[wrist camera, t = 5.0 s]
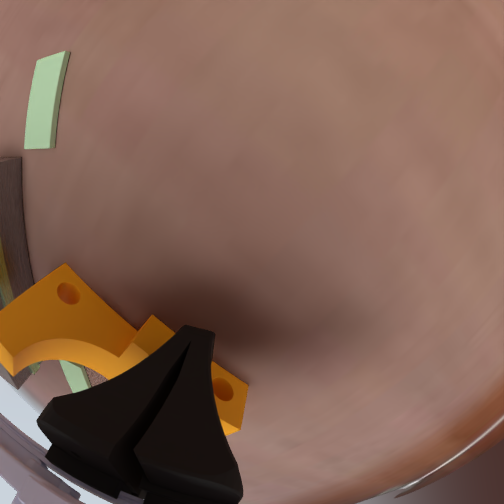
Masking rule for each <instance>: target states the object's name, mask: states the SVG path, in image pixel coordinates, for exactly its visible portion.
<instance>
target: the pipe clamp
mask: <svg viewBox="0 0 504 504" xmlns="http://www.w3.org/2000/svg"><path fill="white" fill-rule="evenodd" d="M174 334H175V332H173V331H172V330H171V329H170V328H168V327H167V326H166V325H165V324H163V323H162V322H161V321H160V320H159V319H157V318H156V317H155V316H154V315H153V314H152V315H151V316H150V317H149V319H148V320H147V321H146V322H145V323H144V324H143V326H142V327H141V328H140V329H139V330H138V331H137V330H136V329H135V328H133V327H132V326H131V325H130V324H129V323H127V322H126V321H125V320H124V319H123V318H122V317H121V316H119V315H118V314H117V313H116V312H115V311H114V310H113V309H112V308H111V307H109V306H108V305H107V304H106V303H105V302H104V301H103V300H102V299H101V298H100V297H99V296H98V295H97V294H96V293H95V292H94V291H93V290H92V289H91V288H90V287H88V286H87V285H86V284H85V283H84V282H83V280H82V279H81V278H80V277H79V276H78V275H77V274H76V273H75V272H74V271H73V270H72V269H71V268H70V267H69V266H68V265H67V264H66V263H64V264H63V265H61V266H60V267H58V268H57V269H55V270H54V271H52V272H51V273H50V274H48V275H47V276H45V277H44V278H43V279H41V280H40V281H38V282H37V283H36V284H34V285H33V286H32V287H30V288H29V289H28V290H26V291H25V292H24V293H22V294H21V295H20V296H18V297H17V298H16V299H15V300H13V301H12V302H11V303H10V304H8V305H7V306H6V307H5V308H3V309H2V310H1V311H0V363H1V364H2V365H3V366H4V367H5V368H6V370H7V371H8V372H9V373H10V374H11V375H12V376H13V377H14V376H15V375H16V374H17V373H18V372H19V371H21V370H22V369H23V368H25V367H27V366H29V365H31V364H33V363H36V362H40V361H44V360H66V361H71V362H75V363H78V364H81V365H84V366H86V367H88V368H91V369H93V370H95V371H96V372H98V373H100V374H101V375H103V376H104V377H106V378H107V379H109V380H110V379H112V378H114V377H116V376H118V375H120V374H122V373H123V372H125V371H127V370H129V369H130V368H132V367H133V366H135V365H136V364H138V363H139V362H141V361H142V360H144V359H145V358H146V357H148V356H149V355H151V354H152V353H153V352H155V351H156V350H157V349H158V348H159V347H161V346H162V345H163V344H164V343H165V342H167V341H168V340H169V339H170V338H171V337H172V336H173V335H174ZM211 375H212V384H213V391H214V397H215V402H216V407H217V411H218V415H219V418H220V421H221V425H222V428H223V431H224V434H225V436H226V435H229V434H232V433H234V432H237V431H239V430H241V424H242V419H243V413H244V408H245V402H246V397H247V391H248V386H249V385H247V384H246V383H244V382H243V381H241V380H240V379H238V378H237V377H235V376H234V375H232V374H231V373H229V372H228V371H226V370H225V369H223V368H222V367H220V366H219V365H218V364H216V363H215V362H213V361H212V363H211Z"/></svg>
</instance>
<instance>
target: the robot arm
mask: <svg viewBox="0 0 504 504" xmlns="http://www.w3.org/2000/svg"><path fill="white" fill-rule="evenodd" d="M214 339H215V334H214V332H212V331H208V330H204V329H200V328H196V327H192V326H188V325H184V326H183V327H182V328H181V329H180V330H179V331H178V332H177V333H175V334H174V335H173V336H172V337H171V338H170V339H169V340H168V341H167V342H165V343H164V344H163V345H162V346H161V347H159V348H158V349H157V350H156V351H155V352H153V353H152V354H151V355H149V356H148V357H146V358H145V359H144V360H142V361H141V362H139V363H138V364H136V365H135V366H133V367H132V368H130V369H129V370H127V371H125V372H123V373H122V374H120V375H118V376H116V377H114V378H112V379H110V380H108V381H106V382H103V383H101V384H99V385H96V386H93V387H90V388H88V389H85V390H82V391H79V392H76V393H72V394H67V395H63V396H59V397H54V398H53V399H52V400H51V401H50V402H49V403H48V405H47V406H46V407H45V409H44V410H43V412H42V413H41V415H40V416H39V418H38V419H37V424H38V427H39V428H40V429H41V431H42V432H43V433H44V434H45V436H46V437H47V438H48V439H49V441H50V442H51V443H52V445H51V447H50V449H49V450H46V449H45V448H44V447H42V446H41V445H39V444H38V443H36V442H35V441H34V440H32V439H31V438H30V437H28V436H27V435H26V434H25V433H23V432H22V431H21V430H20V429H18V428H17V427H16V426H15V425H13V424H12V423H11V422H10V421H9V420H7V419H6V418H5V417H4V416H3V415H2V414H1V413H0V476H1V477H2V478H3V479H4V480H5V481H6V482H7V483H8V484H9V485H10V486H12V487H13V488H14V489H15V490H16V491H17V494H16V496H15V498H14V500H13V502H12V504H85V503H83V502H81V501H79V498H80V493H78V492H77V491H75V490H74V489H73V488H71V487H70V486H68V485H67V484H66V483H65V482H63V481H62V480H61V479H60V478H58V477H57V476H56V475H54V474H53V473H52V472H50V471H49V470H48V468H47V467H49V468H50V469H52V470H53V471H55V472H56V473H58V474H59V475H61V476H63V477H64V478H66V479H67V480H69V481H71V482H72V483H74V484H76V485H77V486H79V487H81V488H83V489H85V490H86V491H88V492H90V493H92V494H94V495H96V496H98V497H100V498H102V499H104V500H106V501H108V502H110V503H113V504H238V503H239V502H240V500H241V499H242V497H243V485H242V481H241V476H240V473H239V469H238V464H237V462H236V460H235V458H234V456H233V454H232V451H231V449H230V447H229V444H228V442H227V439H226V437H225V434H224V431H223V428H222V425H221V421H220V418H219V415H218V411H217V407H216V402H215V397H214V391H213V384H212V375H211V363H212V355H213V347H214ZM143 499H144V500H143Z"/></svg>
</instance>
